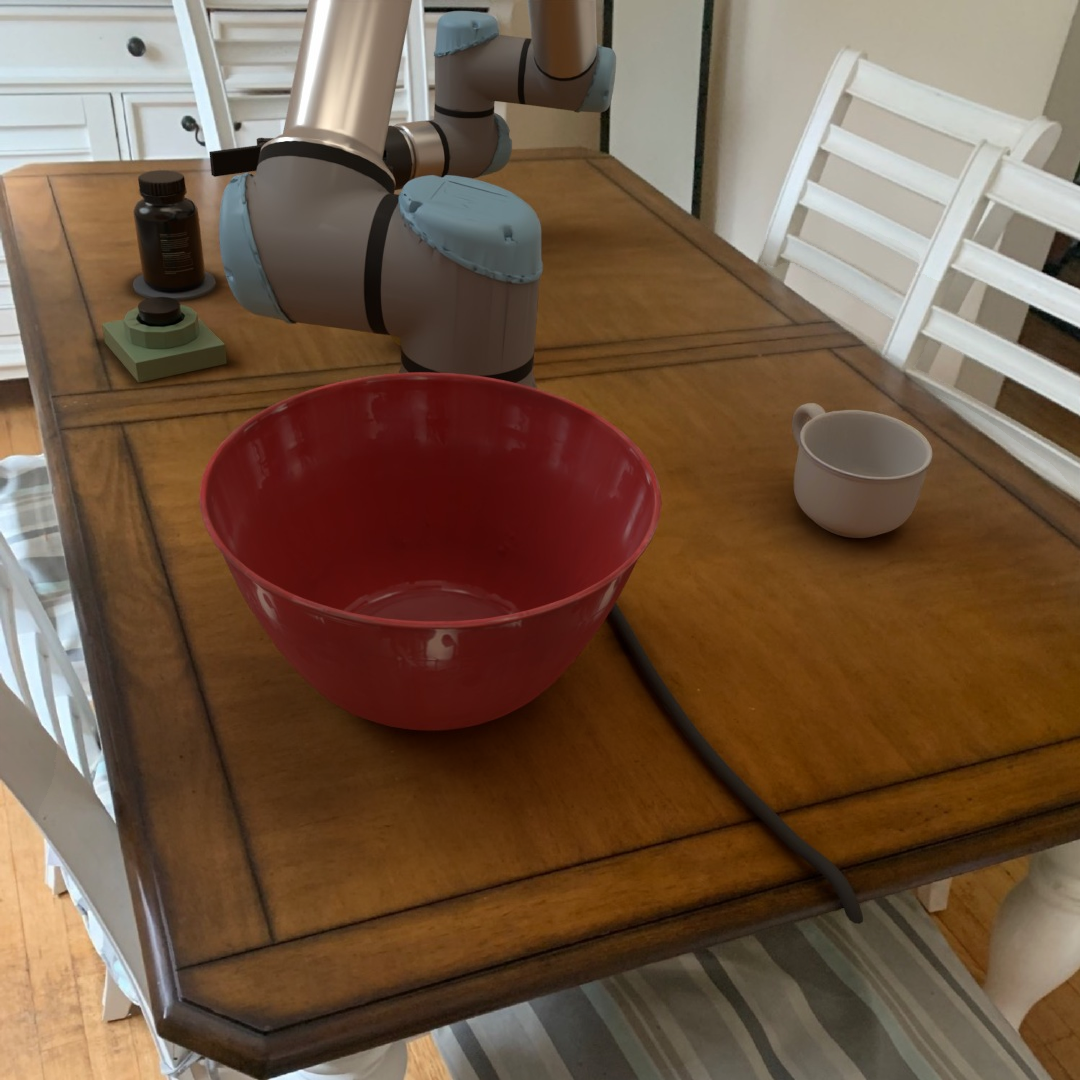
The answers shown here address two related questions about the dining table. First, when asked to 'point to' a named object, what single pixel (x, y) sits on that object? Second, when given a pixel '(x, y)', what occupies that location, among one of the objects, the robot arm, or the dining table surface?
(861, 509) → the teacup
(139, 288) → the coaster
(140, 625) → the dining table surface
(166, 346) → the button box
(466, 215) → the robot arm
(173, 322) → the button
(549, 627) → the mixing bowl
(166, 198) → the supplement bottle
